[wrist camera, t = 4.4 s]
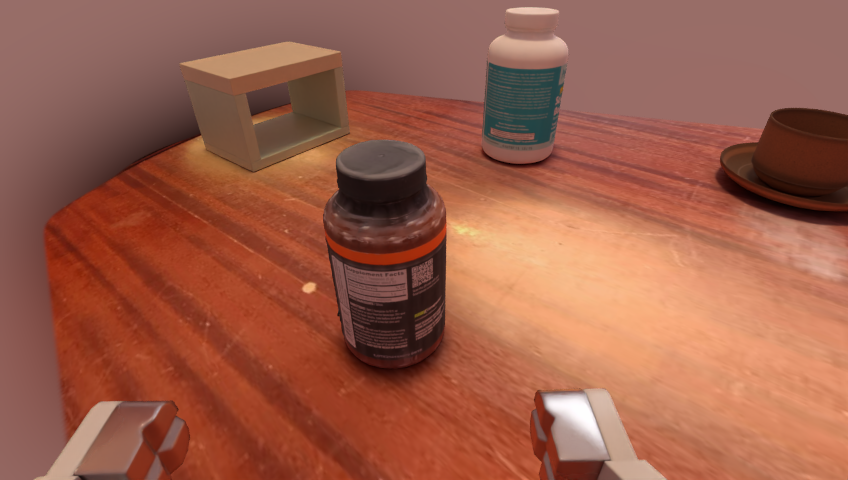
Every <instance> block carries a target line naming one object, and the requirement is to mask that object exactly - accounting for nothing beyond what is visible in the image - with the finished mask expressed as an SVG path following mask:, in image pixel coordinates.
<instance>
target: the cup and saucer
mask: <svg viewBox="0 0 848 480" xmlns="http://www.w3.org/2000/svg"><path fill="white" fill-rule="evenodd" d="M720 163H721V166H722V168H723V169H724V171H725V172H726V174H727V175H728V176H729V177H730V178H731V179H732V180H733V181H735V182H736V183H737V184H739V185H740V186H742V187H744V188H745V189H747V190H749V191H751V192H753V193H755V194H758V195H760V196H762V197H765V198H768V199H770V200H773V201H776V202H780V203H783V204H787V205H791V206H795V207H800V208H806V209H812V210H821V211H848V115H845V114H840V113H836V112H830V111H824V110H818V109H807V108H785V109H779V110H775V111H774V112H772V113H771V115H770V117H769V119H768V122H767V124H766V126H765V128H764V131H763V133H762V135H761V138H760V140H759V142H758V143H742V144H737V145H733V146H730V147H728V148H726V149H725V150H724V151H723V152H722V153H721V157H720Z"/></svg>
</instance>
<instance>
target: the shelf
mask: <svg viewBox="0 0 848 480" xmlns="http://www.w3.org/2000/svg"><path fill="white" fill-rule="evenodd" d="M180 68H181V71H182V74H183V77H184V79H185V84H186V87H187V90H188V93H189V96H190V99H191V103H192V106H193V109H194V112H195V115H196V119H197V122H198V125H199V128H200V131H201V135H202V138H203V141H204V144H205V147H206V150H208V151H210V152H213V153H215V154H217V155H219V156H221V157H223V158H225V159H227V160H229V161H231V162H233V163H236V164H238V165H240V166H242V167H244V168H246V169H248V170H250V171H252V172H255V171H257V170H260V169H262V168H265V167H267V166H270V165H272V164H274V163H277V162H279V161H282V160H284V159H287V158H289V157H292V156H294V155H297V154H299V153H302V152H304V151H307V150H309V149H311V148H314V147H316V146H319V145H321V144H324V143H326V142H329V141H331V140H334V139H336V138H339V137H341V136H344V135H346V134H348V133H350V131H349V122H348V113H347V104H346V95H345V86H344V77H343V68H342V57H341V52H339V51H334V50H329V49H324V48H319V47H314V46H309V45H303V44H298V43H294V42H284V43H279V44H273V45H269V46H264V47H259V48H254V49H249V50H244V51H239V52H234V53H229V54H224V55H219V56H214V57H210V58H205V59H200V60H195V61H190V62H185V63H180ZM283 82H287V83H288V88H289V94H290V99H291V104H292V110H293V112H291V113H288V114H285V115H282V116H279V117H276V118H273V119H270V120H267V121H264V122H261V123H258V124H255V125H253V122H252V118H251V114H250V110H249V106H248V102H247V97H246V94H245V93H246V92H250V91H254V90H257V89H261V88H265V87H268V86H272V85H275V84H279V83H283Z"/></svg>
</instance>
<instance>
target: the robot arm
mask: <svg viewBox="0 0 848 480" xmlns="http://www.w3.org/2000/svg"><path fill="white" fill-rule="evenodd" d="M534 402H535V406H536V409H535V410H533V411H532V412H531V418H530V434H531V441H532V446H533V451H534V454H535V455H536V456H537V458H538V459H539V460H540V461H541V462H542V464H541V468H540V472H539V477H540V480H667V479H666V478H665V477H664V476H663V475H661V474H660V473H659V472H658V471H657V470H656V469H655V468H654V467H653V466H651V465H650V464H649V463H648V462H647V461H646V460H638V458H637V456H636V454H635V451H634V449H633V447H632V444H631V442H630V440H629V437H628V435H627V433H626V431H625V428H624V426H623V424H622V421H621V419H620V417H619V414H618V412H617V410H616V407H615V405H614V403H613V400H612V398H611V396H610V394H609V392H608V391H607V390H606V389H604V388H594V389H580V388H577V389H554V390H538V391H537V392H536V393H535V398H534ZM177 412H178V408H177V406H176V405H175V403H174V402H173V401H109V402H99V403H98V404H97V405H95V406H94V407H93V408H92V409H91V410H90V411H89V413H88V414H87V416H86V417H85V418H84V420H83V421H82V423H81V424H80V426H79V427H78V429H77V430H76V432H75V433H74V435H73V436H72V438H71V439H70V440H69V442H68V443H67V445H66V446H65V448H64V449H63V451H62V452H61V454H60V455H59V457H58V458H57V460H56V461H55V462H54V464H53V465H52V467H51V468H50V470H49V471H48V473H47V474H46V476H43V477H37V478H35V479H34V480H172V477H171V474H172V473H173V472H174V471H175V470H176V469H177V468H178V467H179V466H181V465H182V464H183V461H184V459H185V456H186V454H187V451H188V446H189V440H190V434H189V428H188V426H187V424H186V422H185V421H184V420H182V419H180V418H179V417H177V416H176V414H177Z"/></svg>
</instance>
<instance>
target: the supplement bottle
mask: <svg viewBox="0 0 848 480" xmlns="http://www.w3.org/2000/svg"><path fill="white" fill-rule="evenodd" d="M336 170H337V177H338V179H337V183H338V188H339V190H338V191H337V192H336V193H334V195H333V196H332V197H331V198H330V199H329V201H328V202H327V204H326V206H325V209H324V214H323V222H324V228H325V234H326V242H327V247H328V253H329V260H330V263H331V269H332V276H333V282H334V286H335V291H336V297H337V303H338V316H340V321H341V326H342V332H343V335H344V339H345V342H346V344H347V347H348V348H349V349H350V351H351V352H352V353H353V354H354V355H355V356H356V357H357V358H358V359H360V360H361V361H363V362H364V363H366V364H368V365H372V366H375V367H379V368H390V369H394V368H403V367H407V366H411V365H413V364H416V363H418V362H420V361H422V360H424V359H425V358H427V357H428V356H429V355H430V354H432V353H433V352H434V350H435V349H436V348H437V347H438V346H439V344H440V342H441V340H442V337H443V333H444V325H445V280H446V209H445V205H444V202H443V200H442V197H441V196H440V195H439V194H438V192H437V191H436V190H435V189H434V188H433V187H431V186H429V185H428V184H426V181H427V175H426V159H425V155H424V153H423V151H422V150H420V149H419V148H418V147H416V146H414V145H413V144H410V143H407V142H401V141H395V140H371V141H366V142H361V143H358V144H355V145H353V146H350V147H348V148H346V149H345V150H343V151H342V152H341V153H340V154H339V155H338V157H337V159H336Z"/></svg>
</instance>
